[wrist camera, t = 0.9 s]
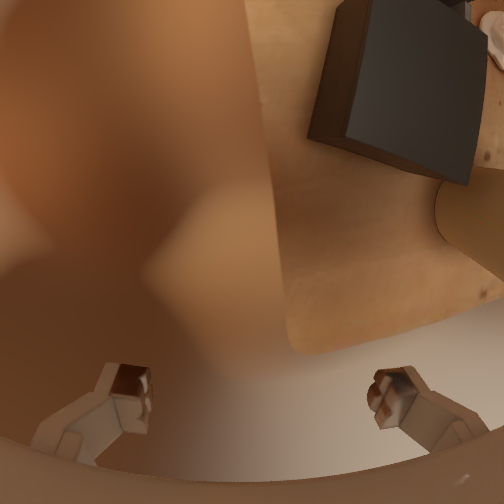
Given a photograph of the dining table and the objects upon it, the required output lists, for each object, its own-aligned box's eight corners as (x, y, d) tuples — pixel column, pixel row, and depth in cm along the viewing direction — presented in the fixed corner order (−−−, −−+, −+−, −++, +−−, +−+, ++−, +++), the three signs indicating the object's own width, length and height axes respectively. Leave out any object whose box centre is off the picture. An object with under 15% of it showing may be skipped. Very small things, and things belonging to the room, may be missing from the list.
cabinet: (336, 7, 24) (377, -33, 15) (431, 52, 26) (488, 35, 17) (306, 138, 28) (344, 136, 19) (408, 172, 30) (468, 187, 21)
